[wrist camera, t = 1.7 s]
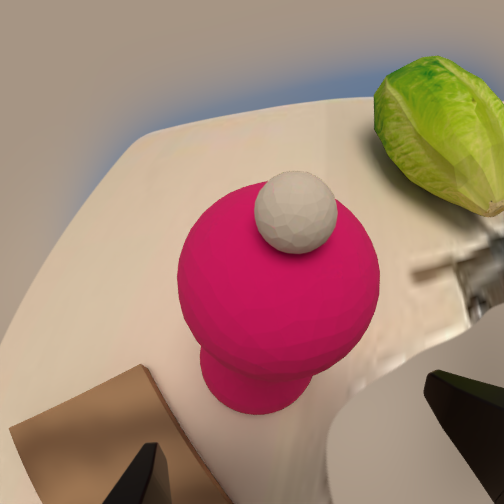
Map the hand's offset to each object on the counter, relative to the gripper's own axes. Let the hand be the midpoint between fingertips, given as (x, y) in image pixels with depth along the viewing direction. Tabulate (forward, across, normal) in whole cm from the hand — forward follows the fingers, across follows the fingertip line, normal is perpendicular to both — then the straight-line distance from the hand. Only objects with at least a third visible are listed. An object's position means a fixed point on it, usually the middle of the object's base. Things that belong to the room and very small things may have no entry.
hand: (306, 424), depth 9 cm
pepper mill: (+14, 0, +7) cm, 15 cm away
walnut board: (+6, +11, +16) cm, 20 cm away
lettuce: (+25, -26, -4) cm, 37 cm away
